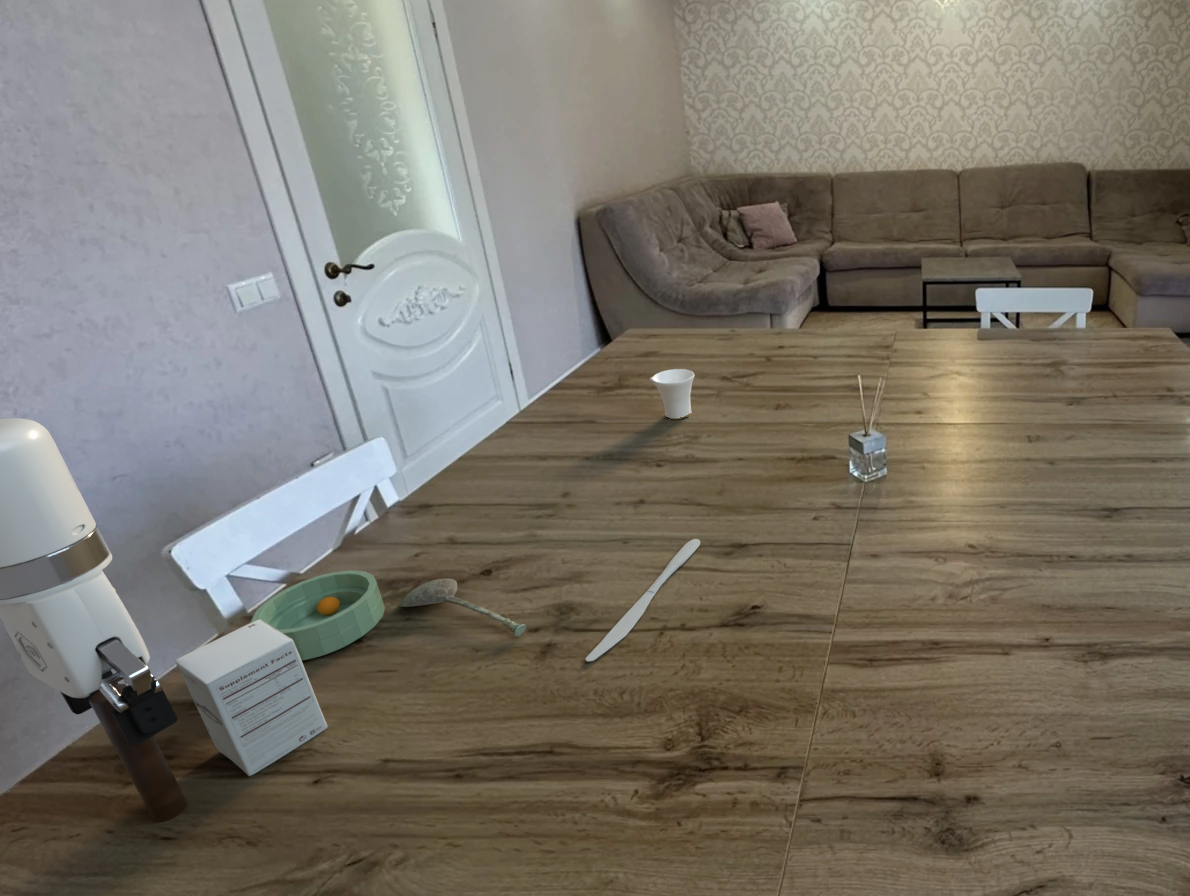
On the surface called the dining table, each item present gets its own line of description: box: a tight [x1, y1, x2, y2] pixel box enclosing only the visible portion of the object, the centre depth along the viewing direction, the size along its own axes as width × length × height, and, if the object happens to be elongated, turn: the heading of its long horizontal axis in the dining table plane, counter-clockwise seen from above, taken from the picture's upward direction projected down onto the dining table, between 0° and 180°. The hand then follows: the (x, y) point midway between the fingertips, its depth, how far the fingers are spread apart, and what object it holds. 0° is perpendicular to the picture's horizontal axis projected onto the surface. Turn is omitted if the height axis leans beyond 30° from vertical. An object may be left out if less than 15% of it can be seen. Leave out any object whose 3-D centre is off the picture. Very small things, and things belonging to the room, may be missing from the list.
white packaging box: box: [174, 620, 328, 777], centre depth 76 cm, size 7×7×13 cm
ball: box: [317, 597, 340, 615], centre depth 96 cm, size 2×2×2 cm
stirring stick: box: [89, 683, 188, 823], centre depth 68 cm, size 2×2×15 cm
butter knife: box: [585, 538, 701, 663], centre depth 101 cm, size 1×27×3 cm
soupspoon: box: [399, 578, 528, 638], centre depth 97 cm, size 22×3×7 cm
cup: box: [649, 368, 695, 418], centre depth 158 cm, size 9×9×10 cm
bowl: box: [250, 569, 386, 661], centre depth 94 cm, size 13×13×5 cm
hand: (125, 717), depth 66 cm, fingers open, 9 cm apart
